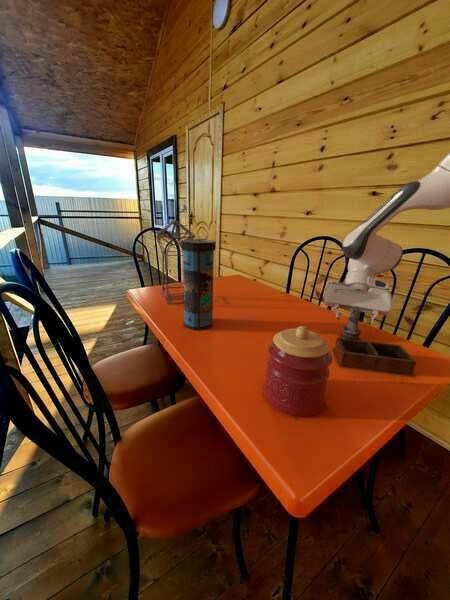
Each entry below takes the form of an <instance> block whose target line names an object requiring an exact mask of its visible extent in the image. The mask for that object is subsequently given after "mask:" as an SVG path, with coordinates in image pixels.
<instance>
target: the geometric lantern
mask: <svg viewBox="0 0 450 600" xmlns="http://www.w3.org/2000/svg"><path fill="white" fill-rule="evenodd" d="M171 226H172V229H171V233H168V232H166V231H168V230H169V228H170V227H171ZM179 228H181V229H182V231H184V232H180V229H179ZM175 231H176V233H175ZM155 234H156V240H157V243H158V246H159V249H160V252H161V255H162V256H161V257H162V259H161V260H162V261H161V263H162V265H161V266H162V271H161V285H162V286H161V296H162V297H164V298H165V299H166V300H168V304H171V305H175V304H177V302H173V301H182V300H183V301H184V292H177V293H170V291H169V289H184V286H169V274H168V273H169V268H168V267H169V264H168V263H169V261H168V259H169V257H183V254H168V253H183V250H171V248H172V246H179V247H180V248H181V240H183V239H195V238H196V237H197V236H196V234H194V233H193V232H192V231H190V230H189V229H188V228H187V227H185V225H183V224H182V223H180V222H179V221H178V220H171V221H170V222H169V223H167V224H166V225H165V226H164V227H162V228H161V229H159V230H158V231H157V232H155ZM181 235H183V236H181ZM166 238H167V239H168V240H167V239H166ZM160 240H163V241H164V242H166V243H167V244H168V246H167V248H166V250H165V248H164V246H163V243H162V242H161V241H160ZM169 240H170V241H169ZM173 242H177V243H173ZM165 285H166V287H165ZM164 293H165V294H166V295H165V294H164ZM179 297H183V298H179Z"/></svg>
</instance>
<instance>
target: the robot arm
mask: <svg viewBox="0 0 450 600" xmlns="http://www.w3.org/2000/svg"><path fill="white" fill-rule="evenodd" d="M449 208H450V152H449V153H447V155H445V156H444V158H442V160H441V161H440V162H439V163H438V164H437V165H436V166H435V167H434V168H433V169H432V170H431V171H430V172H429V173H427V174H426V175H424V176H423V177H422V178H420V179H418V180H417V181H410V182H408V183H406V184H404V185H403V186H401V187H400V188H399V189H398V190H397V191H395V192H394V193H393V194H392V195H391V196H390V197H388V198H387V199H386V200H385V201H384V202H383V203H382V204H381V205H380V206H379V207H377V209H375V210H374V211H373V212H372V213H371V214H370V215H369V216H368V217H367V218H365V220H363V222H361V223H360V224H359V225H357V226H356V227H354V228H353V229H352V230H350V231H349V232H348V233H347V234H346V235H345V236H344V238H343V240H342V243H341V249H342V252H343V255H344V257H346V258H348V259H349V260H348V263H347V273H346V275H345V281H344V282H336V281H331V282H327V284H325V295H324V299H323V304H324V305H325V306H326V307H332V308H333V312H334V314H335V319H336V320H341V317H342V312H340V311H339V309H344V310H350V311H351V310H352V309H353V308H356V306H357V307H358V309H359V310H360V311H361V312H360V313H367V314H371V317H368V318H367V321H366V325H367V326H368V325H369V326H373V324H374V320H375V319H376V318H377V317H378V316H379V315H380V316H389V315H390V314H391V312H392V310H393V297H392V293H391V292H390V291H389V290H390V286H391V285H390V283H388V282H386V281H383V280H381V279H378V278H376V277H375V276H376V275H381V274H385V273H387V272H390V271H392V270H394V269H396V268H397V267H398V266H399V265H400V263H401V261H402V259H403V254H404V253H403V248H402V246H401V245H399V244H398V243H396V242H394V241H392V240H390V239H388V238H385V237H383V236H381V235H379V234H377V233H378V232H379V231H381V229H383V228H384V227H385V226H386V225H387V224H388V223H390V221H392V220H393V219H394V218H395V217H397V215H399V214H402V213H403V212H406V211H409V210H429V211H439V210H446V209H449Z"/></svg>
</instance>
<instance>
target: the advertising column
mask: <svg viewBox="0 0 450 600" xmlns="http://www.w3.org/2000/svg"><path fill="white" fill-rule="evenodd" d="M180 242H181V244H180V245H181V247H180V249H181V251H183V252H182V255H183V256H182V268H183V270H182V271H183V273H182V274H183V287H184V288H183V293H184V297H183V312H184V313H183V314H184V326H185V327H186V328H187V329H189V330H192V331H204V330H207V329H210V328H211V327H213V320H214V319H213V317H214V315H213V314H214V310H213V309H214V259H215V258H214V254H215V253H214V251H216V250H217V249H216V248H217V247H216V245H217V244H216V243H217V242H216V240H213V239H206V238H205V239H204V238H194V239H187V238H184V239H181V240H180Z"/></svg>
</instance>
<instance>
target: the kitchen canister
mask: <svg viewBox="0 0 450 600" xmlns="http://www.w3.org/2000/svg"><path fill="white" fill-rule="evenodd" d="M267 349H268V353H269V356H268V358H267V361H266V367H267V369H266V377H265V378H266V379H265V381H264V393H265V399H266V400H267V402H268V403H269V404H270V406H272V407H273V408H274V409H276V410H277V411H279V412H281V413H283V414H285V415H288V416H291V417H296V418H306V417H312V416H314V415H316V414H317V413H319V412H320V411H321V410H322V407H323V406H324V403H325V399H326V391H327V390H326V389H327V384H328V379H329V377H330V368H329V367H330V366H331V365H332V363H333V356H332V354H331V352H330V351H331V350H330V349H331V346H330V344H329V342H328V341H327V340H326V339H325V338H323V337H322V335H320V334H318V333H316V332H315V331H312V330H309V329H308V327H307V326H306V325H305V326H304V325H300V326H298V327H291V328H286V329H284V330H281V331H279V332H277V333H275V335H274V336H273V339H272V341H271V343H269V345H268V348H267Z"/></svg>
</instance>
